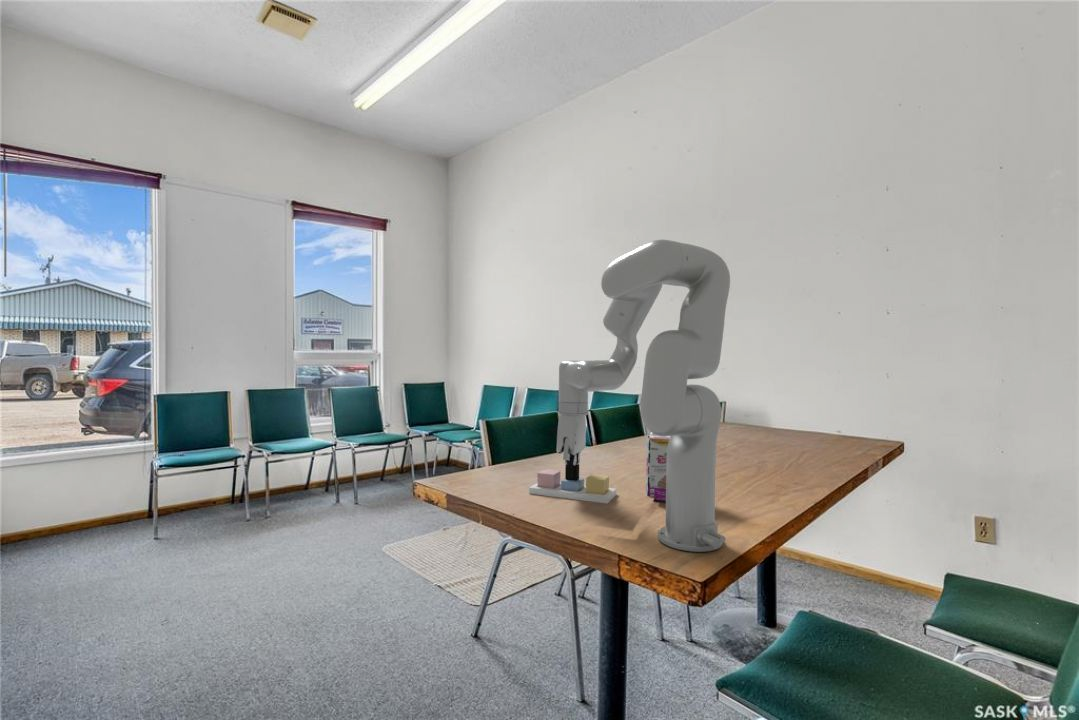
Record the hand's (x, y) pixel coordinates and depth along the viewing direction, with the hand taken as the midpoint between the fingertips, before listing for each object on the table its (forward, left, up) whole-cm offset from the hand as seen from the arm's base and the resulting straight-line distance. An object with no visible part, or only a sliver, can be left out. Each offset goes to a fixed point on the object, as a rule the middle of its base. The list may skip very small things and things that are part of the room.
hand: (572, 479), depth 131 cm
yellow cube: (-5, -5, -4) cm, 8 cm away
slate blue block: (0, 0, -5) cm, 5 cm away
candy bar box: (-9, -23, -5) cm, 25 cm away
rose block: (+4, +5, -4) cm, 7 cm away
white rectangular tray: (0, 0, -5) cm, 5 cm away
